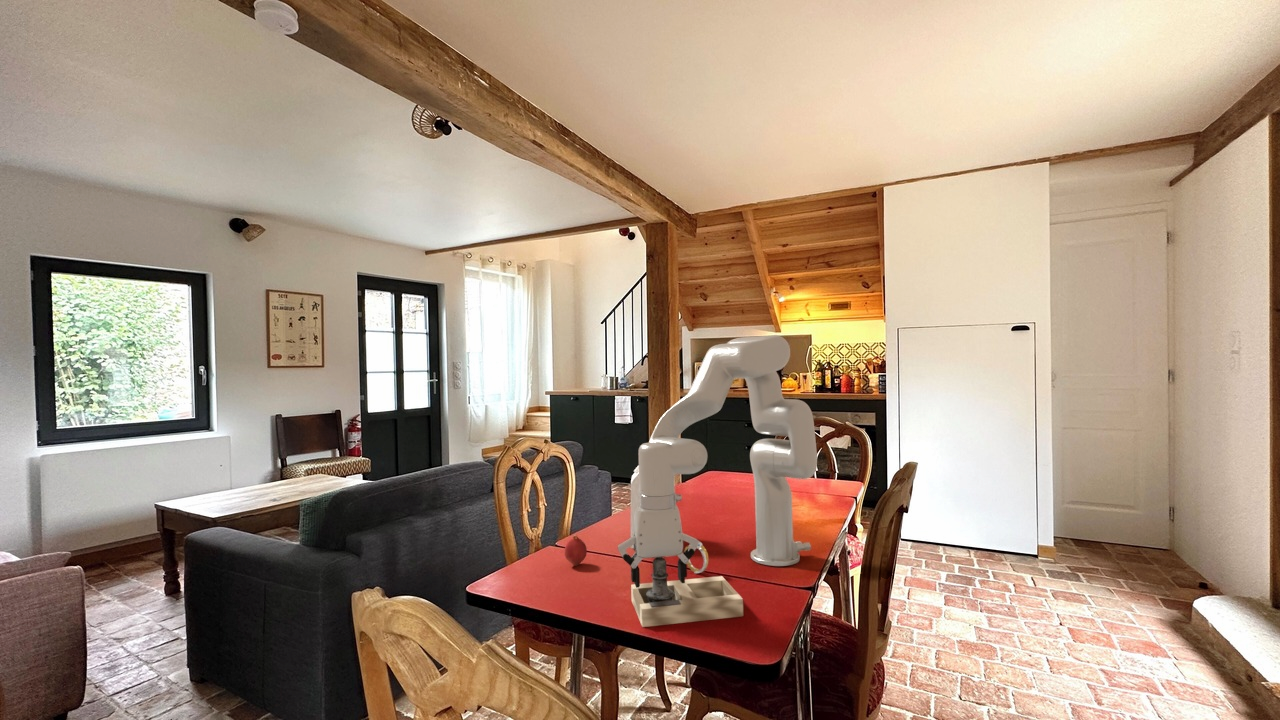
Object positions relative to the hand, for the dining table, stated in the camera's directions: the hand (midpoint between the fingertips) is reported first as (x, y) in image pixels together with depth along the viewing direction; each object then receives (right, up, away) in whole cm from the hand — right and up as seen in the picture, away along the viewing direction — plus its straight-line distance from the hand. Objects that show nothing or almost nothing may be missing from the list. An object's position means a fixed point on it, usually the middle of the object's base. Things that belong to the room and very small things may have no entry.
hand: (659, 582), depth 117 cm
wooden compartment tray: (+6, -6, +1) cm, 8 cm away
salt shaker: (0, -6, 0) cm, 6 cm away
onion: (-21, -7, +29) cm, 36 cm away
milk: (-1, -7, +47) cm, 48 cm away
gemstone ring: (+10, -6, +21) cm, 24 cm away
